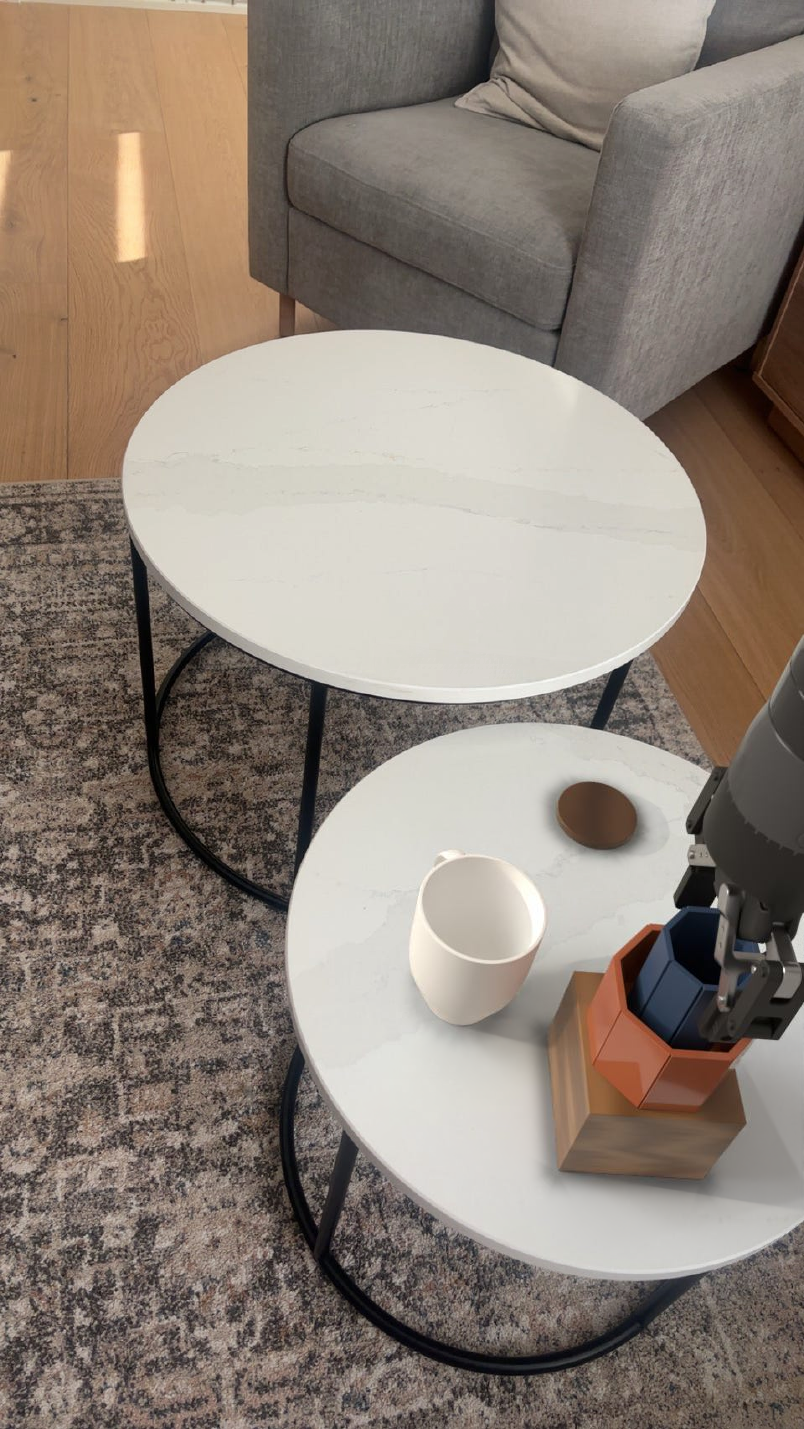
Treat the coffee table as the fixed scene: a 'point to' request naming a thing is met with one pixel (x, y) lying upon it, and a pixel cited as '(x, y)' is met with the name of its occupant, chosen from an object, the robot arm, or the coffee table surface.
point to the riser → (626, 1109)
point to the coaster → (596, 815)
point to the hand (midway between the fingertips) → (701, 966)
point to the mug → (474, 935)
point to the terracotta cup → (650, 1043)
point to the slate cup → (682, 978)
